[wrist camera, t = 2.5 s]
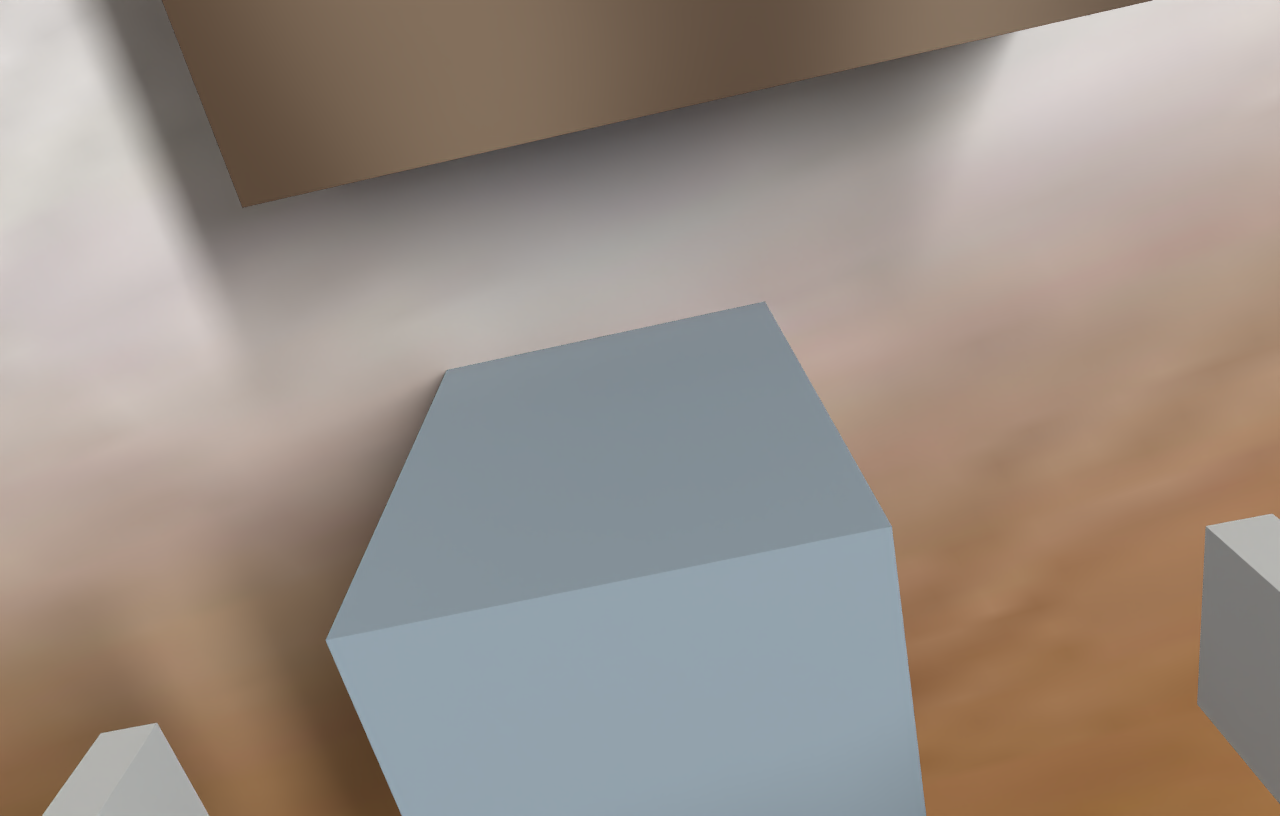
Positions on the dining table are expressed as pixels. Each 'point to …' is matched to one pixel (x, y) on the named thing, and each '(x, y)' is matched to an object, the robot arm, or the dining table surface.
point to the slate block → (634, 592)
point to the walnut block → (519, 69)
